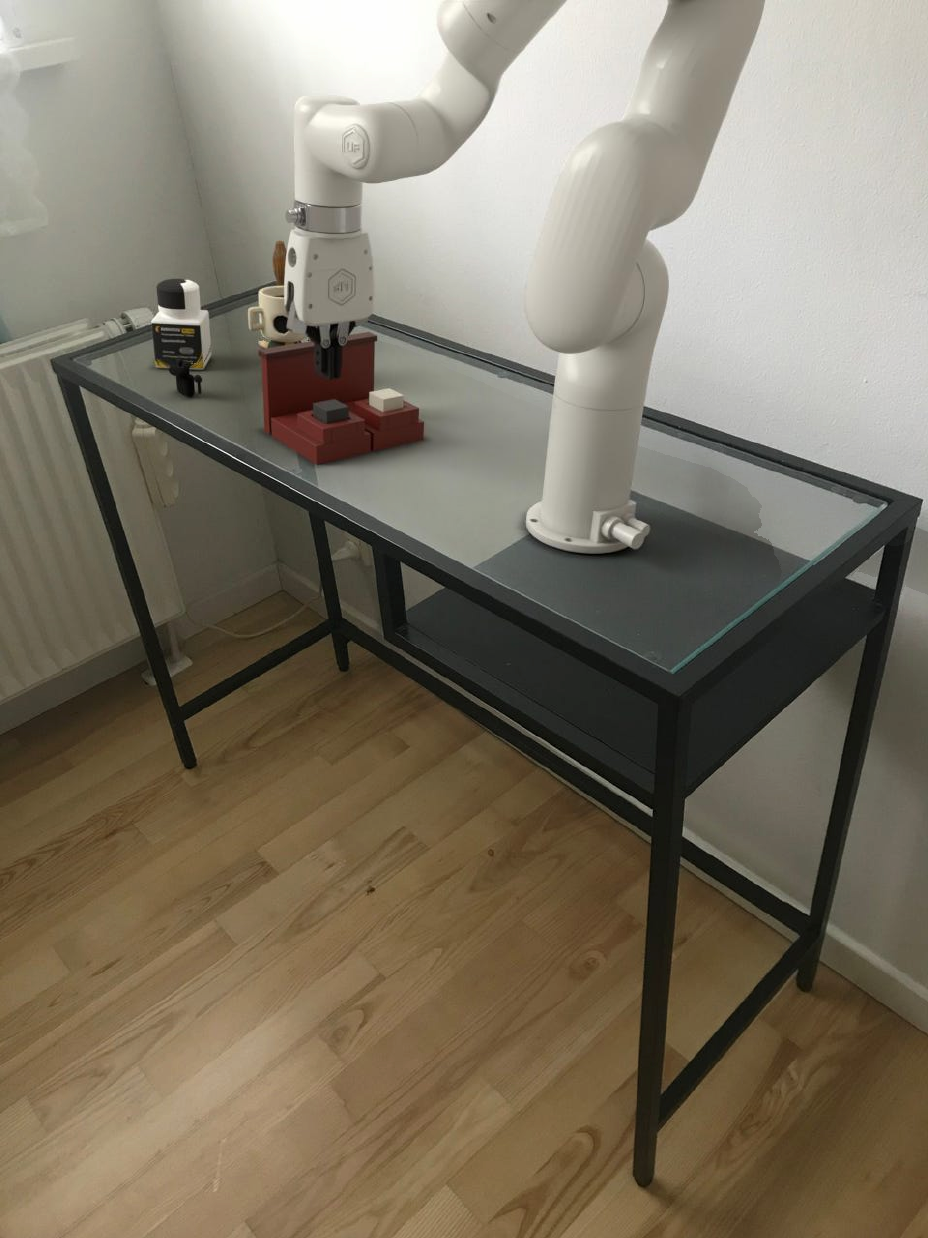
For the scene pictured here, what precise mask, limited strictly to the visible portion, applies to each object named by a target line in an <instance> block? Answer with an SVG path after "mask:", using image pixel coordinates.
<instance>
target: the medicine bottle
mask: <svg viewBox="0 0 928 1238" xmlns="http://www.w3.org/2000/svg"><path fill="white" fill-rule="evenodd" d="M155 288H156V299H157V306H158V308H157V309H158V312H157V313H156V315H155V316H154V317H153V318H152V319H151V321H150V324H151V325H150V326H151V335H152V346H153V355H154V365H155V368H156V369H168V370H169V368H170V365H171V364H175V365H177V359H178V358H180V359H182V360H183V361H188V362H189V363H190V366H191V367H190V369H189V371H190V370H193V371H203V370H205V367H206V366H207V364H208V362H209V361H210V359H211V357H212V351H211V352H210V353H209V355H208V357H207V359H206V360H205V358H206V355H207V354H208V351H209V348H210V345H211V346H212V343H211V329H210V313H209V311H208V310H207V309H201V295H200V294H201V293H200V286H199V284H198V283H197V282H195V281H193V280H190V279H186V278H168V279H164V280H162V281H160V282H158V283H157V285H156V287H155ZM204 360H205V362H204ZM191 363H193V364H191ZM194 363H196V364H194ZM197 363H204V364H197ZM177 366H178V365H177ZM181 367H183V366H181Z"/></svg>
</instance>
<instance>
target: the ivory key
mask: <svg viewBox="0 0 928 1238" xmlns="http://www.w3.org/2000/svg"><path fill="white" fill-rule="evenodd" d="M404 401H405V395H404V394H402V393H400V392H398V391H396V390H394V389H392V388H390V387H389V388H383V389H379V390H374V391H373V392H369V405H370V406H372V407H374V408H376V409H378V410H380V411H381V412H386V411H391V410H396V409H400V408H403V406H404Z"/></svg>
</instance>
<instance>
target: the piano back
mask: <svg viewBox="0 0 928 1238" xmlns="http://www.w3.org/2000/svg"><path fill="white" fill-rule="evenodd" d="M376 342H378V335H376V334H374V333H372V332H370V331H365V332H359V333H352V334H349V335H348V337H347V342H346V344H345V345H342V368H341V378H338V379H335V378H333V379H332V380H327V379H326V378H324V377H322V376H320V375H318V374H317V373H316V369H315V366H314V342H312V341H311V340H309V342H303V343H297V344H290V345H284V346H278V347H272V348H266V349H265V348H260V349H257V351H258V352H257V353H258V356H259V357H260V362H261V363H260V364H261V385H262V386H261V387H262V409H263V411H262V412H263V431H264V433H266V434H268V435H272V429H271V418H273V417H278V416H283V415H288V414H293V413H298V412H303V411H308V410H313V403H318V402H323V401H328V400H333V399H335V400H337V401H339V402H341V403H347V402H352V401H357V400H362V399H366V398H369V392H373V391H375V363H376V362H375V359H376V357H375V355H376V353H375V352H376V351H375V350H376Z"/></svg>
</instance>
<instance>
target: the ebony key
mask: <svg viewBox="0 0 928 1238" xmlns="http://www.w3.org/2000/svg"><path fill="white" fill-rule="evenodd" d="M313 417H314V418H316V419H318V420H320V421H321V422H323V423H325V424H326V425H327V424H330V423H335V422H340V421H344V420H349V407H348V406H346V405H345V404H343V403H341V402H339V401H337V400H335V399H333V400H328V401H323V402H318V403H313Z"/></svg>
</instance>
